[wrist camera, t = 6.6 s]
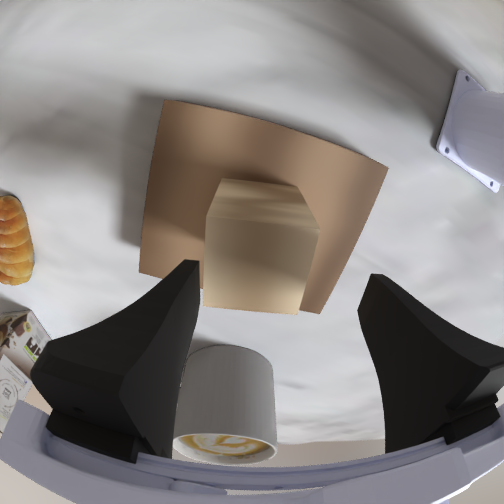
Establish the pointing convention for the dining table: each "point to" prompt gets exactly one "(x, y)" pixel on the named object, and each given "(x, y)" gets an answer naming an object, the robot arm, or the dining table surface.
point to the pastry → (14, 243)
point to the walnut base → (258, 170)
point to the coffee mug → (226, 407)
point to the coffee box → (17, 358)
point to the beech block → (258, 247)
